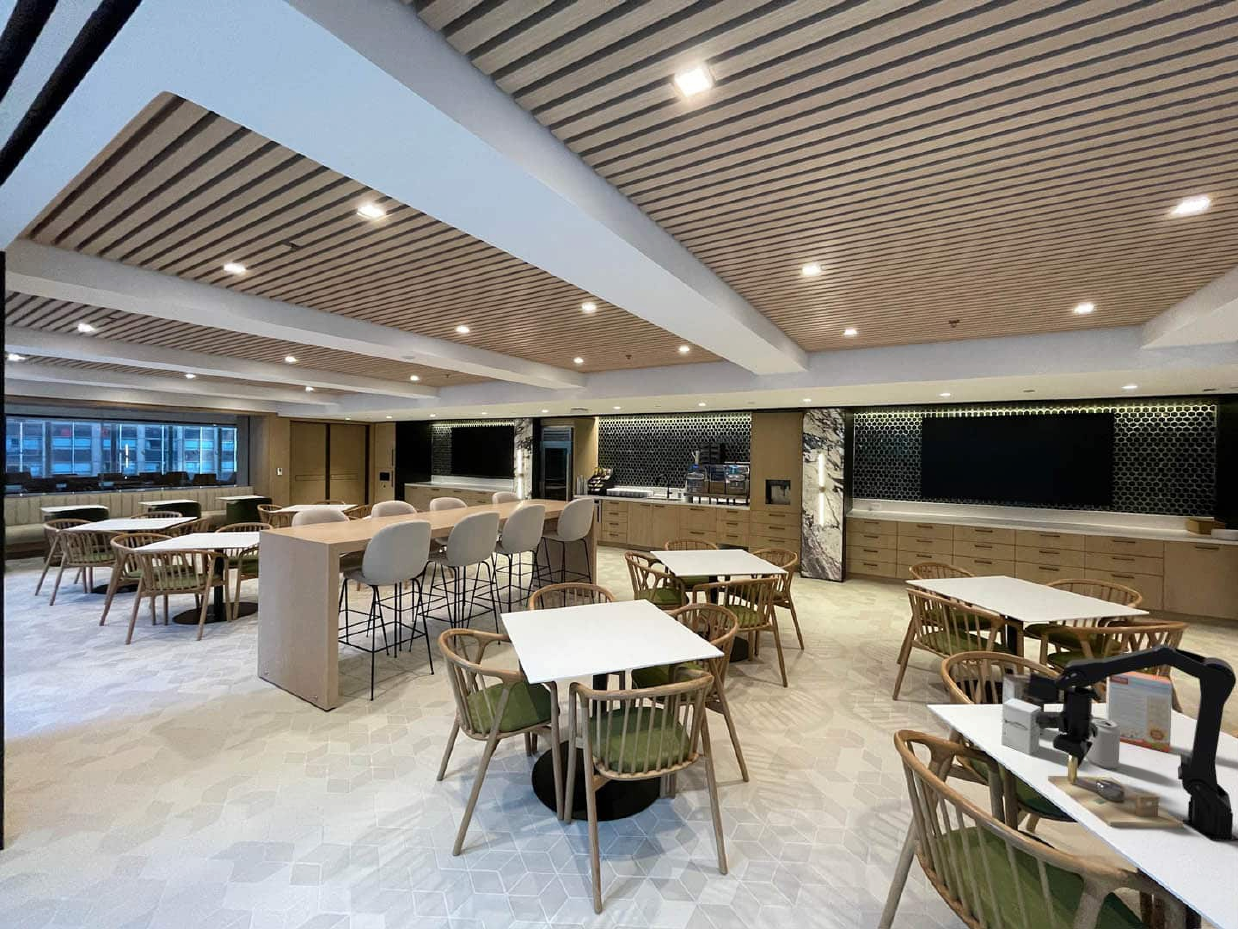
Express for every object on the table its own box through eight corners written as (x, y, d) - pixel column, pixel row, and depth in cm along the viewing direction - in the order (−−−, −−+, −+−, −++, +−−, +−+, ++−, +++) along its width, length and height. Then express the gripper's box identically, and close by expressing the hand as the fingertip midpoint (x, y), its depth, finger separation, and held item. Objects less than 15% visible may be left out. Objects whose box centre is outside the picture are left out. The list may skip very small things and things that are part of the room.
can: (1125, 772, 149) (1127, 729, 149) (1094, 768, 151) (1095, 725, 150) (1106, 757, 156) (1108, 716, 156) (1077, 754, 158) (1078, 713, 158)
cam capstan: (1125, 797, 135) (1126, 769, 135) (1123, 805, 132) (1124, 777, 132) (1069, 777, 143) (1070, 751, 143) (1065, 784, 140) (1067, 757, 140)
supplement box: (1000, 744, 162) (1002, 702, 162) (1011, 737, 166) (1012, 696, 166) (1029, 756, 156) (1031, 712, 156) (1040, 748, 160) (1041, 706, 160)
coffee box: (1031, 725, 175) (1033, 675, 175) (1044, 735, 168) (1046, 683, 168) (1000, 722, 176) (1002, 672, 176) (1012, 732, 170) (1014, 681, 170)
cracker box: (1166, 745, 164) (1169, 677, 164) (1170, 754, 159) (1173, 683, 159) (1104, 730, 172) (1107, 665, 172) (1106, 738, 168) (1109, 671, 167)
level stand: (1182, 828, 126) (1183, 802, 126) (1110, 826, 126) (1111, 801, 126) (1110, 781, 144) (1111, 759, 144) (1047, 780, 144) (1048, 758, 144)
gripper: (1047, 689, 155) (1045, 743, 155) (1029, 708, 143) (1027, 767, 143) (1099, 703, 146) (1096, 760, 147) (1085, 725, 134) (1082, 787, 134)
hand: (1074, 768), depth 143 cm, fingers closed
